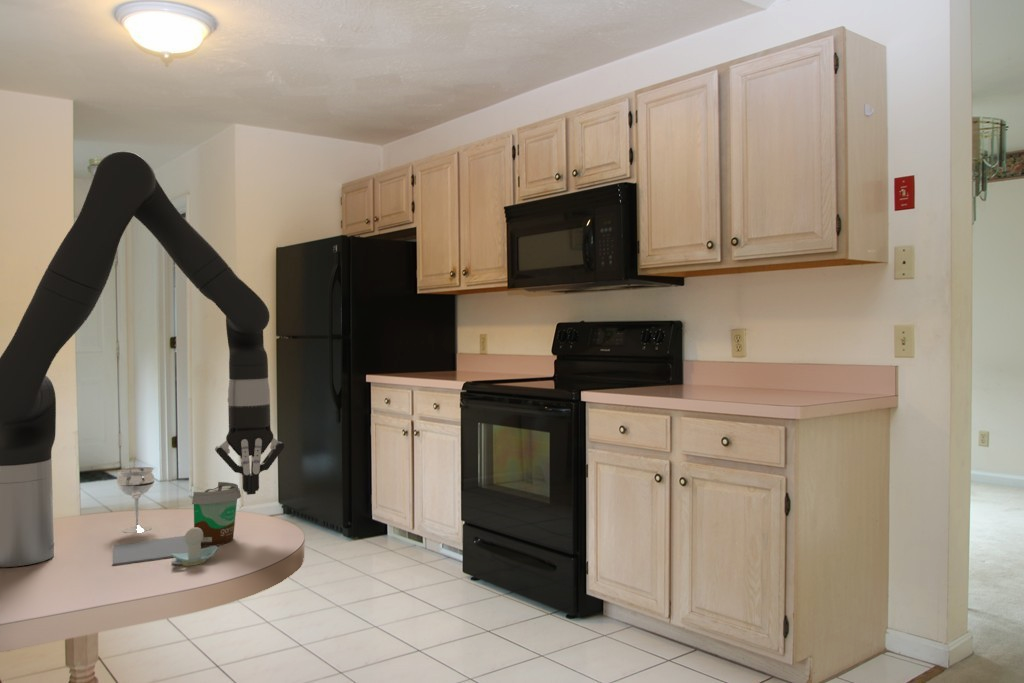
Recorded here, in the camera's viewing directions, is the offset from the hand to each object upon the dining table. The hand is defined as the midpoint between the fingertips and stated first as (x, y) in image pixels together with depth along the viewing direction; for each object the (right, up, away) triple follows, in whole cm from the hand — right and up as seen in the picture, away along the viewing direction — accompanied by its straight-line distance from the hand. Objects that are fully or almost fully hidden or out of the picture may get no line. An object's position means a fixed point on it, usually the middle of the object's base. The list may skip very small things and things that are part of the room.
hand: (251, 493), depth 147 cm
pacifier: (-5, -9, -16) cm, 19 cm away
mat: (-15, -9, -7) cm, 19 cm away
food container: (-5, -9, -3) cm, 10 cm away
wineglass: (-26, -9, +8) cm, 28 cm away
